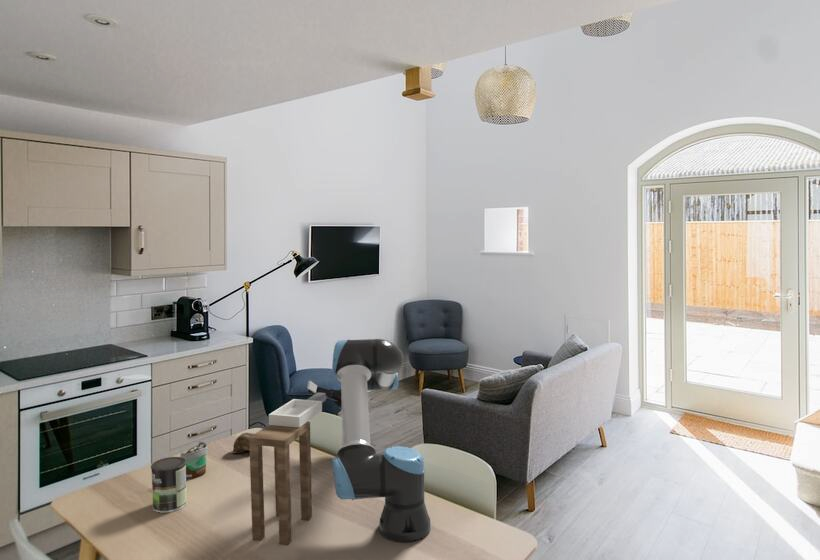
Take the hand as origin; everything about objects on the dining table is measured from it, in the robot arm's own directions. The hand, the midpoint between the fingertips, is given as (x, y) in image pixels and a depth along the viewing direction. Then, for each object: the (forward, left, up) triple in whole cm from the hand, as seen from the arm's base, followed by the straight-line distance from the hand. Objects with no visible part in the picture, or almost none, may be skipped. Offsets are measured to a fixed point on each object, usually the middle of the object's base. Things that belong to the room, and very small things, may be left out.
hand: (326, 385), depth 188 cm
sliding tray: (-6, +17, -4) cm, 18 cm away
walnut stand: (-11, +31, -34) cm, 48 cm away
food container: (+43, +23, -34) cm, 59 cm away
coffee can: (+30, +42, -34) cm, 62 cm away
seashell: (+45, 0, -34) cm, 57 cm away
